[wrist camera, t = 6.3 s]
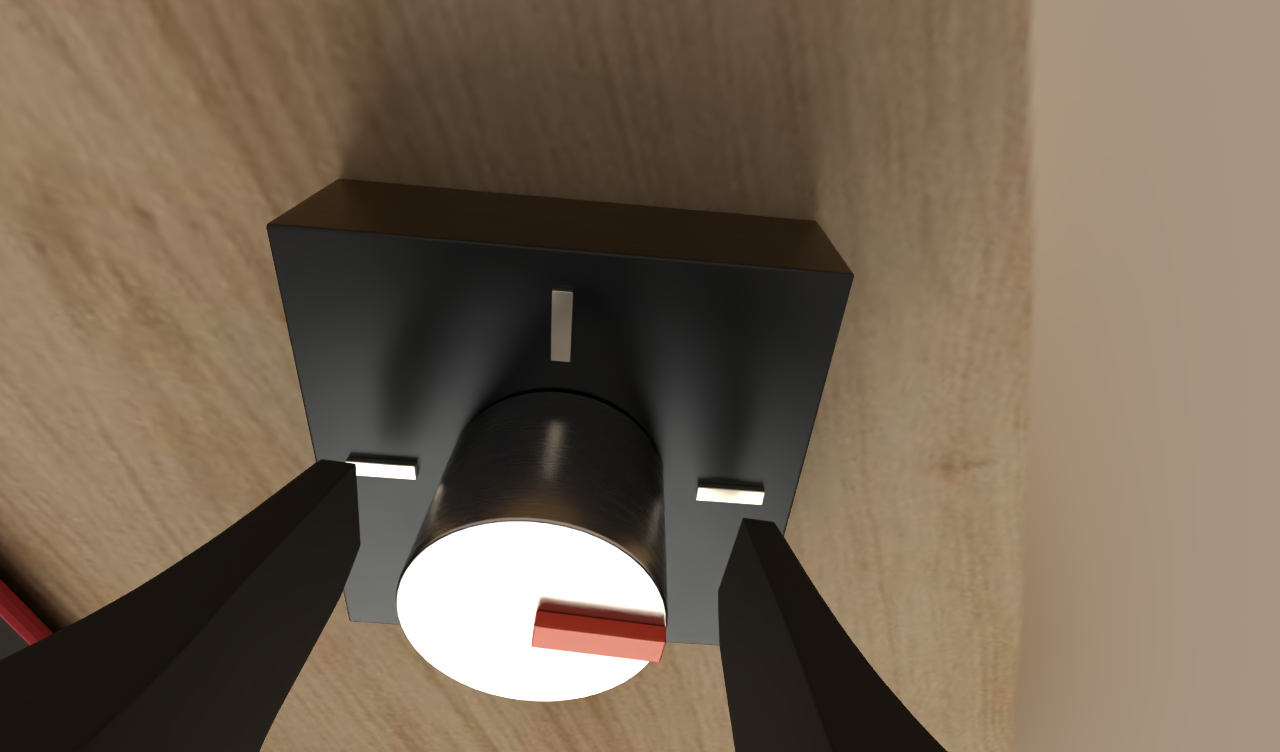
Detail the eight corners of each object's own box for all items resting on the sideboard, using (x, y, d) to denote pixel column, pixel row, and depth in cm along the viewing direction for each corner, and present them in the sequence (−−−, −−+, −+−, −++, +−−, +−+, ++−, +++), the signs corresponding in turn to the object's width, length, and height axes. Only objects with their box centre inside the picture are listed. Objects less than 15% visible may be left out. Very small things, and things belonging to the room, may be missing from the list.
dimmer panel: (337, 178, 14) (259, 227, 11) (817, 220, 14) (858, 278, 11) (390, 534, 19) (346, 627, 16) (739, 558, 19) (755, 654, 16)
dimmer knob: (448, 542, 15) (390, 702, 11) (454, 373, 12) (383, 514, 9) (643, 568, 15) (642, 731, 12) (683, 409, 13) (695, 556, 9)
